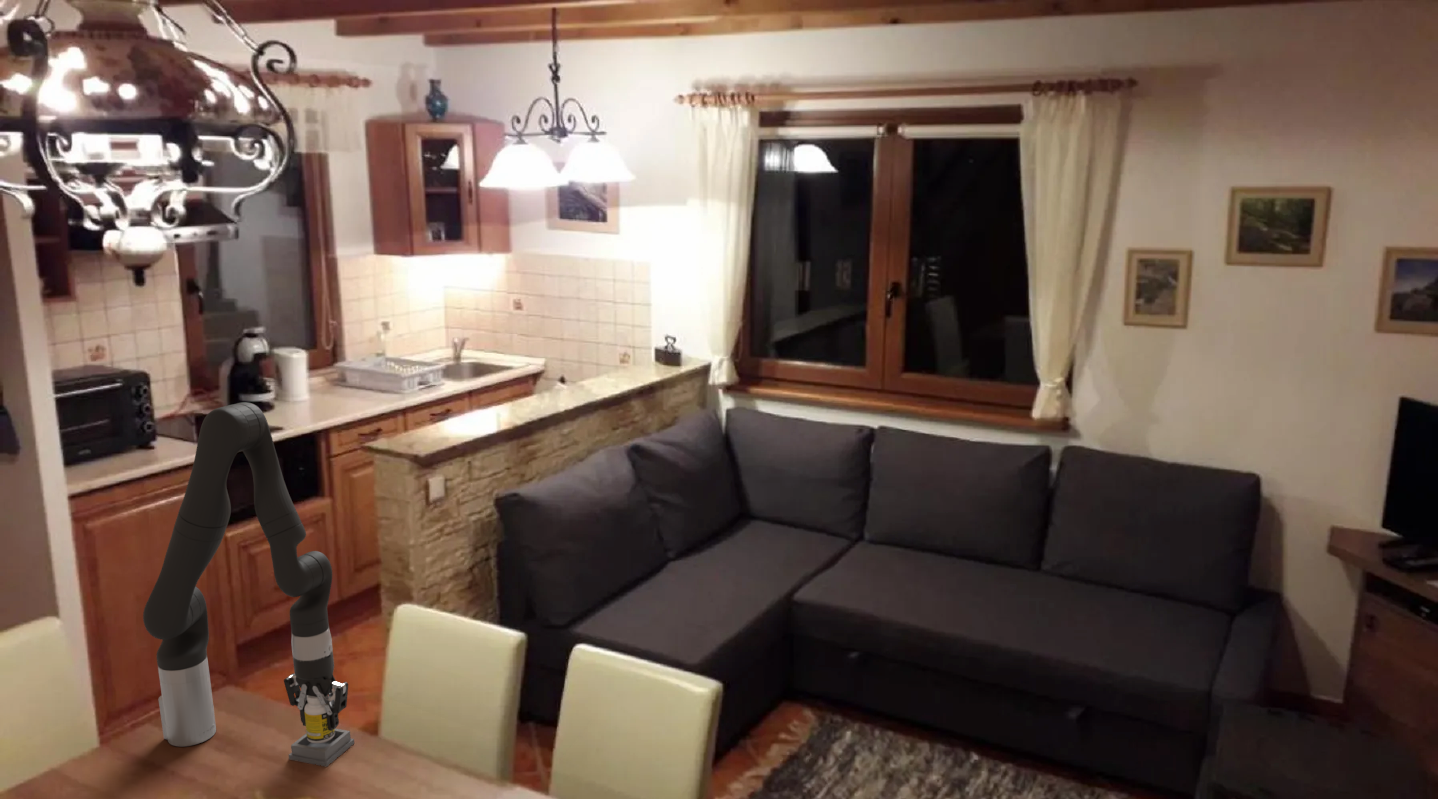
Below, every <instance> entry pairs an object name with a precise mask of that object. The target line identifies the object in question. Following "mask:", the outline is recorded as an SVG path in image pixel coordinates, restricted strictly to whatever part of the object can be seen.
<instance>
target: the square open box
mask: <svg viewBox="0 0 1438 799" xmlns="http://www.w3.org/2000/svg"><path fill="white" fill-rule="evenodd" d="M353 745H355V738H352V737H351V731H350V730H346V729H340V728H337V727H336V728H335V735H334V737H333V738H332V739H330V740H329V741H327V742H324V743H311V742H309V741H308V739H307V733H305V734H303V735H302V736H301V737H299V739H297V740H296V741H294V742H293V743H292V744H291V745H290V750H291V752H290V753H289V754H288V760H291V761H294V762H295V761H296V762H301V763H305V764H310V765H315V764H316V765H315V766H320V765H321V767H325V768H326V767H327V768H328V767H329V764H330V763H331V764H333V762H335V760H337V759H338V758H339V757H340V756H341V755H343V754H344V753H345V752H346V751H347V750H348V749H349V748H351V747H352V746H353ZM337 757H338V758H337ZM331 764H330V765H331Z"/></svg>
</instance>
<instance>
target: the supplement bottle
mask: <svg viewBox="0 0 1438 799" xmlns="http://www.w3.org/2000/svg"><path fill="white" fill-rule="evenodd" d="M328 696H329V694H328V695H327V696H326V697H325V699H326V698H328ZM307 702H308V703H307V704H306V706H305V708H304V712H305V722H306V726H305V732H306V733H307V739H308V741H309V742H311V743H324V742H327V741H329V740H330V739H332V738H333V737H334V735H335V729H334V730H333V731H330V730H328V725H327V716H326V715H327V712H326V710H325V707H324V706H322V705H321V704H320V701H319V699H318V697H314V696H308V695H307ZM330 705H331V703H330ZM331 707H332V705H331ZM306 733H305V734H306Z"/></svg>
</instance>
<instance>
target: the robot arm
mask: <svg viewBox="0 0 1438 799" xmlns="http://www.w3.org/2000/svg"><path fill="white" fill-rule="evenodd" d="M239 452H242V453H243V454H244V456H245V457H246V458H245V459H246V460H247V461H248V464H249V466H250V468H251V474H252V478H253V479H252V480H253V501H254V502H253V504H254V510H255V515H256V517H257V520H258V523H259V526H260V527H261V529H262V532H263V534H264V536H265V538H266V541H267V542H268V543H269V549H270V556H271V562H272V568H273V575H274V580H275V582H276V584H277V586H278V588H279V590H280V591H282V592H283V593H284V594H285V596H286V595H287V596H288V597H291V598H297V597H298V599H297V600H296V601H295V602H294V603H293V604H292V605H291V607H290V608H289V621H290V630H291V641H290V642H291V643H290V644H291V651H292V653H291V654H292V661H293V662H292V663H293V671H294V672H293V673H291V674H290V675H288V676H287V677H286V678H284V679H283V684H284V687H285V692H286V695H287V696H288V701H289V704H290V706H293V707H294V706H296V707H297V709H298V710H299V716H300V722H301V723H302V726H303V727H306V722H305V712H304V708H305V706H306V704H307V703H308V702H307V695H308V696H314V697H318V699H319V701H320V704H321V705H322V706H324V707H325V710H326V712H327V715H326V716H327V725H328V730H330V731H333V730H334V729H335V728H336V729H337V728H338V726H339V724H340V718H339V713H340V712H342V711H344V710H345V709H346V708H347V705H348V695H349V694H348V693H349V683H348V682H347V681H344V682H342V683H341V682H339V681H336V678H335V677H334V670H335V661H334V660H335V659H334V652H333V640H332V634H331V631H330V625H329V614H328V613H329V612H328V604H329V600H330V595H331V588H332V583H333V582H332V581H333V569H332V568H333V567H332V565H331V561H330V560H329V559H328V557H327V555H326V554H324V553H323V552H320V551H318V550H312V551H308V552H306V553H304V554H302V555H300V556H298V552H297V551H298V550H297V547H298V546H299V544H300V543H302V542H303V541H304V540H305V539H306V537H307V532H306V529H305V526H304V523H303V522H302V520H301V518H300V515H299V514H298V511H297V508H296V507H295V505H294V503H293V501H292V498H291V496H290V494H289V490H288V487H287V485H286V482H285V480H284V476H283V473H282V469H281V466H280V465H281V464H280V461H279V458H278V453H277V451H276V448H275V444H274V440H273V436H272V433H271V429H270V425H269V423H268V419H267V418H266V415H265V414H264V412H263V411H262V409H261V408H260V407H259V406H258V405H256V404H254V403H251V402H237V403H234V404H229V405H224V406H221V407H217V408H214V409H213V410H211V411H210V412H208V413H207V414H206V416H205V417H204V419H203V421H202V424H201V427H200V429H199V435H198V439H197V444H196V449H195V455H194V461H193V465H192V469H191V471H190V472H191V473H190V475H189V479H188V482H187V485H186V489H185V493H184V496H183V500H182V502H181V504H180V507H179V509H178V511H177V512H178V513H177V516H176V519H175V523H174V525H173V526H174V527H173V530H172V533H171V537H170V540H169V543H168V546H167V549H166V552H165V556H164V560H163V564H162V567H161V570H160V573H159V576H158V577H157V579H156V582H155V584H154V587H153V588H152V589H151V590H152V591H151V593H150V594H149V597H148V600H147V601H146V603H145V606H144V609H143V615H142V620H143V624H144V628H145V630H146V631H147V633H148V634H150V636H152V637H153V638H155V639H158V640H162V641H161V643H160V645H159V647H158V649H157V652H156V662H157V672H158V677H159V684H160V691H161V695H160V696H159V697H158V705H159V713H160V719H161V721H160V722H161V727H162V735H163V739H164V740H167V742H168V743H169V745H171V746H173V747H181V748H182V747H191V746H194V745H198V744H200V743H201V744H202V743H203V742H206V741H208V740H209V739H211V738H212V737H213V736H214V735H215V734H216V732H217V727H216V726H217V724H216V716H215V708H214V702H213V701H214V700H213V691H212V684H211V676H210V668H209V661H208V653H207V652H208V651H207V648H208V644H209V642H210V639H209V638H210V630H209V629H210V628H209V619H208V618H209V615H208V607H207V606H208V605H207V601H206V598H205V596H204V594H203V592H202V591H201V589H199V588H198V587H197V584H198V582H199V580H200V578H201V577H202V575H203V574H204V572H205V570H206V568H208V566H209V564H210V563H211V561H212V559H213V558H214V557H215V554H216V553H217V551H218V549H219V547H220V545H221V543H222V540H223V538H224V536H225V534H226V530H227V528H228V525H229V521H230V517H231V513H232V506H231V500H230V496H229V495H230V494H229V493H228V489H227V488H228V487H227V480H228V476H229V472H230V470H231V466H232V465H233V462H234V460H235V457H236V456H237V454H238V453H239ZM327 695H328V698H326V699H325V697H326V696H327ZM330 703H331V705H332V707H331V705H330Z"/></svg>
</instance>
